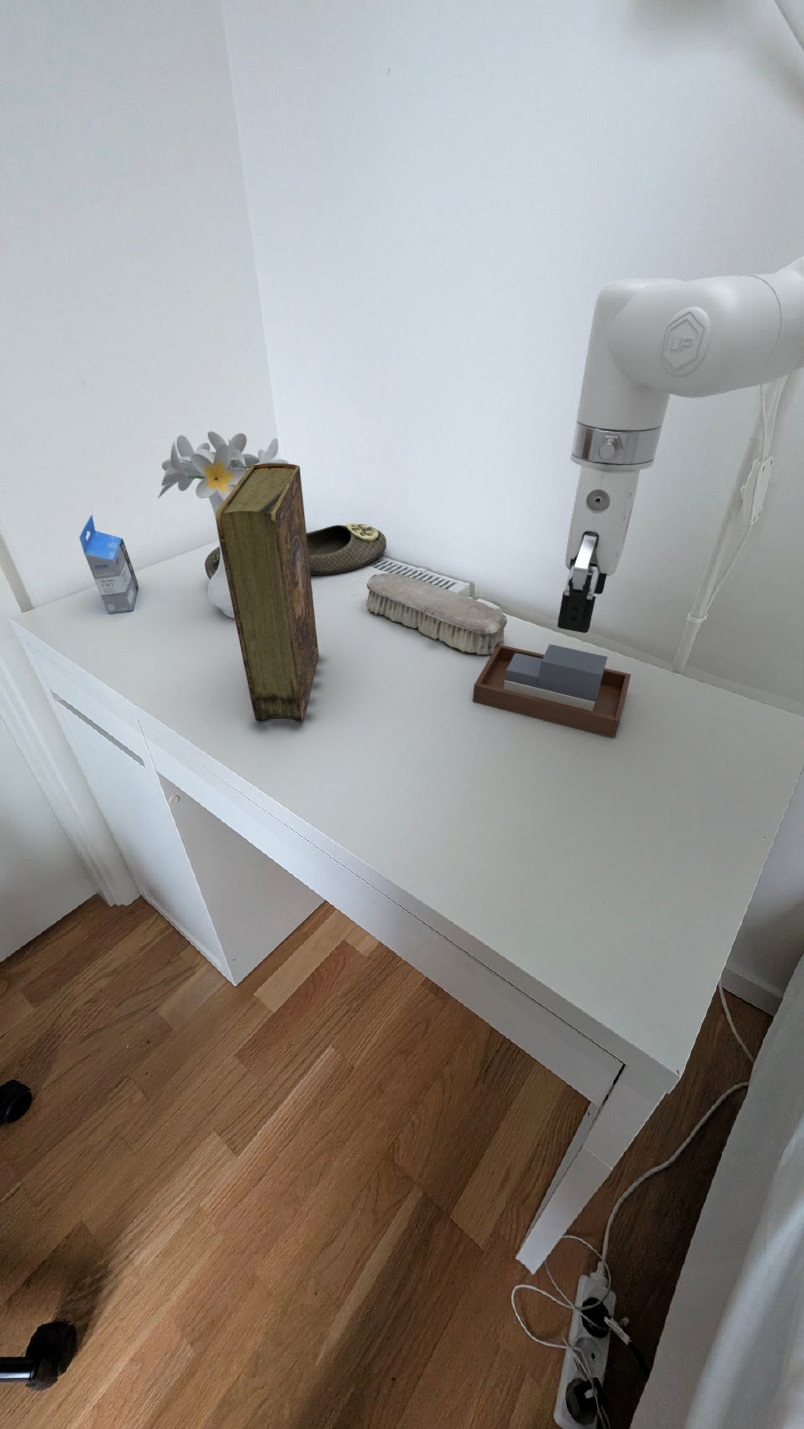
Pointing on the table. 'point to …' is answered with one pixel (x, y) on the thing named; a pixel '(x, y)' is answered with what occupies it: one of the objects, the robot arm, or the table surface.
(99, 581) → the label tape box
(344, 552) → the flat
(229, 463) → the flower vase
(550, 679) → the grey stepped block
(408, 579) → the shoe brush
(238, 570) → the book
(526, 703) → the tray
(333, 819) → the table surface
